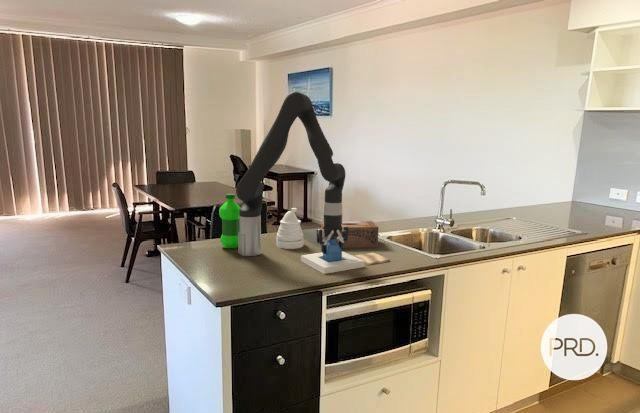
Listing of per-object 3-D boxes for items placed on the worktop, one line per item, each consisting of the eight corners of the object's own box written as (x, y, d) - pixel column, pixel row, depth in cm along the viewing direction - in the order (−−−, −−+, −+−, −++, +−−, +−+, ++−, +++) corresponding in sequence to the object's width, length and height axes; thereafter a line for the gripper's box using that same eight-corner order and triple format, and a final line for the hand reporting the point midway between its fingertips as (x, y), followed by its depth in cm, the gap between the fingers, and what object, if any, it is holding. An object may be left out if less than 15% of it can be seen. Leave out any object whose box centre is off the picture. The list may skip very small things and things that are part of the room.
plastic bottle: (230, 251, 200) (229, 196, 196) (215, 247, 206) (213, 194, 202) (247, 247, 208) (246, 194, 204) (231, 243, 214) (230, 192, 210)
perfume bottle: (327, 266, 180) (327, 237, 178) (322, 262, 186) (323, 234, 184) (341, 265, 181) (342, 237, 179) (336, 261, 187) (337, 233, 185)
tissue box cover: (371, 240, 225) (372, 220, 224) (377, 247, 211) (378, 227, 210) (321, 240, 223) (321, 221, 222) (323, 248, 209) (324, 227, 207)
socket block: (324, 273, 171) (324, 267, 170) (300, 261, 187) (301, 255, 186) (364, 266, 180) (364, 261, 180) (339, 255, 196) (339, 249, 196)
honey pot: (305, 242, 218) (305, 206, 215) (301, 249, 205) (301, 211, 202) (279, 241, 219) (279, 205, 216) (274, 248, 207) (273, 210, 204)
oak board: (367, 265, 183) (367, 263, 183) (350, 257, 193) (350, 255, 193) (390, 261, 189) (390, 259, 189) (372, 254, 199) (373, 252, 199)
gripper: (342, 210, 187) (341, 248, 189) (313, 212, 180) (312, 252, 182) (352, 213, 180) (351, 252, 183) (322, 216, 173) (321, 257, 176)
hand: (332, 252), depth 183 cm, fingers closed on perfume bottle, 7 cm apart
